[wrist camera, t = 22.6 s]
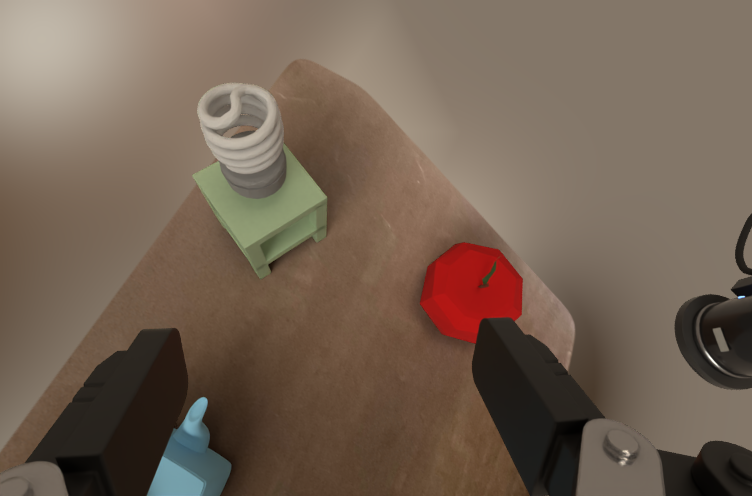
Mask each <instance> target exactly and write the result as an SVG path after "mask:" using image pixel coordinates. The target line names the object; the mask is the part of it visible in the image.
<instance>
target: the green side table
mask: <svg viewBox="0 0 752 496" xmlns="http://www.w3.org/2000/svg"><path fill="white" fill-rule="evenodd" d="M283 150H284V153H285V154H286V161H287V166H286V179H285V181H284V183H283V185H282V187H281V188H280V189H279V190H278V191H277V192H276V193H275V194H273V195H270V196H268V197H266V198H261V199H252V198H246V197H244V196H241V195H239V194H238V193H237V192H235V191H234V190H233V189H232V188H231V186H230V185H229V183H228V182H227V180H226V179H225V177H224V175H223V174H222V172H221V168H220V163H219V161H218V162H216V163H214V164H212V165H210V166H208V167H206V168H205V169H203V170H201V171H199V172H197V173H195V174H193V175H192V177H193V178H194V180H195V182H196V183H197V185H198V187H199V188H200V190H201V192H202V193H203V195H204V197H205V199H206V200H207V202H208V204H209V205H210V207H211V209H212V210H213V212H214V214H215V215H216V217H217V219H218V220H219V222H220V223H221V225H222V226H223V227H224V228H226V230H227V231H228V232H229V234H230V235H231V237H232V238H233V239H234V241H235V242H236V244H237V245H238V246H239V248H240V249H241V251H242V252H243V253H244V255H245V256H246V258H247V259H248V260H249V262H250V264H251V265H252V267H253V269H254V271H255V272H256V274H257V275H258V276H259V278H260V279H262V278H264V277H266V276H267V275H269V274H270V273H271V270H270V268H269V266H268V264H269V263H271V262H272V261H274V260H276V259H277V258H279V257H280V256H282V255H283V254H285V253H286V252H288V251H290V250H291V249H293V248H294V247H296V246H297V245H299V244H300V243H302V242H303V241H305V240H307V239H308V238H310V237H311V236H312V237H313V238H314V240H315V241H316V242H319V241H321V240H322V239H324V238H325V237H326V228H327V196H326V195H325V194H324V193H323V191H322V190H321V189H320V188H319V186H318V185H317V184H316V183H315V181H314V180H313V179H312V178H311V176H310V175H309V174H308V173H307V171H306V170H305V169H304V168H303V166H302V165H301V164H300V163H299V161H298V160H297V159H296V158H295V156H294V155H293V154H292V153H291V151H290V150H289V149H288V148H287V146H286V145H285V144H284V143H283Z"/></svg>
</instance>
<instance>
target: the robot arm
mask: <svg viewBox="0 0 752 496" xmlns="http://www.w3.org/2000/svg"><path fill="white" fill-rule="evenodd" d="M751 227H752V214H751V215H750V216H749V217H748V219H747V221H746V222H745V225H744V227H743V229H742V231H741V234H740V236H739V239H738V242H737V246H736V250H735V259H736V263H737V265H738V267H739V269H740V270H741V271H742V272H743V273H746V274H748V275H752V269H750V268H748V267H747V266H746V264H745V262H744V258H743V250H744V246H745V242H746V239H747V237H748V234H749V232H750V229H751ZM731 291H732V292H734V293H735V295H737V296H738V298H734V299H730V300H726V301H724V302H717V303H712V304H708V305H705V306H703V307H702V308H700V309H699V310H698V311H697V313H696V314H695V316H694V319H693V323H692V333H693V338H694V342H695V344H696V347H697V349H698V351H699V352H700V354H701V355H702V357H703V358H704V360H705V361H706V362H707V363H708V364H709V365H710V366H711V367H712V368H714V369H715V370H716V371H718V372H719V373H721V374H723V375H725V376H728V377H731V378H752V277H748V278H744V279H741V280H738V282H737V283H736V284H735V285H734V286H733V287H732V289H731ZM472 373H473V378H474V382H475V384H476V387H477V389H478V391H479V393H480V395H481V397H482V399H483V401H484V403H485V405H486V407H487V409H488V411H489V413H490V415H491V417H492V419H493V421H494V423H495V425H496V427H497V429H498V431H499V433H500V435H501V437H502V439H503V441H504V444H505V446H506V448H507V450H508V452H509V454H510V456H511V458H512V460H513V462H514V464H515V466H516V468H517V470H518V472H519V474H520V476H521V478H522V480H523V482H524V484H525V486H526V488H527V490H528V492H529V494H530V496H545V495H549V496H752V452H751V451H750V450H747V449H745V448H743V447H740V446H738V445H735V444H732V443H728V442H723V441H710V442H708V443H706V444H705V445H704V446H703V447H702V449H701V451H700V453H699V455H698V456H697V458H696V457H691V456H687V455H682V454H676V453H672V452H667V451H662V450H657V449H655V447H654V446H653V445H652V444H651V442H650V441H648V440H647V439H646V438H645V437H644V436H643V435H642V434H640V433H639V432H638V431H636V430H635V429H633V428H631V427H629V426H627V425H625V424H623V423H621V422H618V421H615V420H610V419H606V418H605V417H604V416H603V415H602V413H601V412H600V411H599V410H598V408H597V407H596V406H595V405H594V404H593V402H592V401H591V400H590V399H589V397H588V396H587V395H586V394H585V392H584V391H583V390H582V389H581V388H580V386H579V385H578V384H577V383H576V381H575V380H574V379H573V378H572V377H571V375H568V372H567V370H566V369H565V368H564V367H563V365H562V364H561V363H558V359H557V358H556V357H555V356H554V354H553V353H552V352H551V351H550V350H549V348H548V347H547V346H546V345H544V344H543V343H542V342H540V341H539V340H537V339H536V338H534V337H533V336H531V335H524V333H523V332H522V331H521V329H520V328H519V327H518V326H517V324H516V323H515V322H514V320H513V319H512V318H510V317H500V318H483V319H482V320H481V321H480V324H479V329H478V334H477V339H476V345H475V350H474V355H473V361H472ZM187 389H188V375H187V369H186V364H185V359H184V354H183V349H182V343H181V338H180V334H179V331H178V330H177V329H176V328H166V329H143V330H142V331H140V333H139V334H138V335H137V337H136V338H135V340H134V341H133V343H132V344H131V346H130V347H129V349H128V350H127V351H117V352H115V353H114V354H113V355H111V356H110V357H109V358H107V359H106V360H105V361H103V362H102V363H101V364H99V365H98V366H97V367H96V368H95V369H94V371H93V372H92V373H91V375H90V376H89V378H88V379H87V380H86V382H85V383H84V387H81V388H80V390H79V391H78V392H77V394H76V395H75V396H74V398H73V401H72V403H69V404H68V406H67V407H66V408H65V410H64V411H63V412H62V414H61V415H60V416H59V418H58V419H57V420H56V422H55V423H54V424H53V426H52V427H51V428H50V430H49V431H48V433H47V434H46V435H45V437H44V438H43V439H42V441H41V442H40V443H39V445H38V446H37V447H36V449H35V450H34V451H33V453H32V454H31V455H30V457H29V458H28V459H27V461H26V462H25V463H24V464H21V465H18V466H15V467H12V468H10V469H8V470H5V471H3V472H1V473H0V496H147V494H148V491H149V489H150V486H151V484H152V481H153V479H154V476H155V474H156V471H157V469H158V466H159V464H160V461H161V459H162V457H163V454H164V452H165V449H166V447H167V444H168V442H169V439H170V437H171V434H172V432H173V429H174V427H175V424H176V422H177V419H178V417H179V414H180V412H181V409H182V407H183V405H184V402H185V399H186V395H187Z"/></svg>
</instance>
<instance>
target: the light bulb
mask: <svg viewBox="0 0 752 496" xmlns="http://www.w3.org/2000/svg"><path fill="white" fill-rule="evenodd" d="M224 106H225V107H224ZM197 113H198V117H199V119H200V126H201V129H202V132H203V134H204V138H205V141H206V143H207V145H208V147H209V148H210V149H211V151H212V153H213V155H214V156H215V157H216V158H217V159H218V160H219V163H220V168H221V172H222V174H223V175H224V177H225V179H226V180H227V182H228V183H229V185H230V186H231V188H232V189H233V190H234V191H235V192H237V193H238V194H239V195H241V196H244V197H246V198H252V199H261V198H266V197H268V196H270V195H273V194H275V193H276V192H277V191H278V190H279V189H280V188H281V187H282V185H283V183H284V181H285V179H286V166H287V161H286V154H285V153H284V150H283V143H284V127H283V122H282V119H281V114H280V110H279V108H278V105H277V102H276V100H275V99H274V97H273V95H272V94H271V93H269V92H268V91H267V90H266V89H264V88H262V87H260V86H257V85H253V84H244V83H226V84H222V85H219V86H216V87H214V88H212V89H210V90H209V91H208V92H207V93H206V94H204V95H203V96H202V98H201V100H200V101H199V104H198V109H197ZM241 114H248V115H241ZM251 115H252V116H251ZM243 125H247V126H253V127H256V128H258V130H256V131H245V132H242V133H238V134H236V135H234V136H232V137H231V138H226V137H223V134H224V133H225V132H226V131H227V130H229V129H231V128H233V127H237V126H243Z"/></svg>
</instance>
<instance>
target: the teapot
mask: <svg viewBox="0 0 752 496" xmlns="http://www.w3.org/2000/svg"><path fill="white" fill-rule="evenodd" d="M207 403H208V401H207V399H206V398H205V397H202V398H200V399H198V400H197V401H196V402H195V403H194V404H193V405H192V407H191V408H190V410H189V411H188V413H187V415H186V417H185V420H184V421H183V423H182V424H181V425H180V427H179V428H178V429H175V428H174V429H173V432H172V434H171V437H170V439H169V442H168V444H167V447H166V449H165V452H164V454H163V457H162V459H161V461H160V464H159V466H158V469H157V471H156V474H155V476H154V479H153V481H152V484H151V486H150V489H149V491H148V494H147V496H220V495H221V493H222V490H223V488H224V486H225V484H226V482H227V479H228V477H229V475H230V472H231V463H230V462H229V461H228V460H226V459H225V458H223V457H222V456H220V455H219V454H217V453H216V452H214V451H213V450H211V449H209V448H208V444H209V441H210V433H209V430H208V428H207V427H206V425H205V424H204V423H203V422H202V418H203V416H204V413H205V411H206V408H207Z"/></svg>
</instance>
